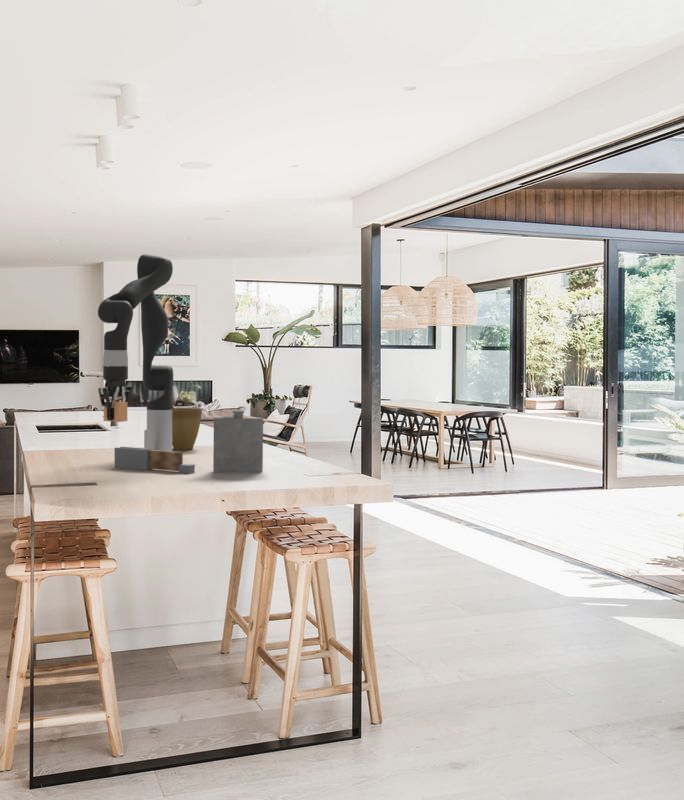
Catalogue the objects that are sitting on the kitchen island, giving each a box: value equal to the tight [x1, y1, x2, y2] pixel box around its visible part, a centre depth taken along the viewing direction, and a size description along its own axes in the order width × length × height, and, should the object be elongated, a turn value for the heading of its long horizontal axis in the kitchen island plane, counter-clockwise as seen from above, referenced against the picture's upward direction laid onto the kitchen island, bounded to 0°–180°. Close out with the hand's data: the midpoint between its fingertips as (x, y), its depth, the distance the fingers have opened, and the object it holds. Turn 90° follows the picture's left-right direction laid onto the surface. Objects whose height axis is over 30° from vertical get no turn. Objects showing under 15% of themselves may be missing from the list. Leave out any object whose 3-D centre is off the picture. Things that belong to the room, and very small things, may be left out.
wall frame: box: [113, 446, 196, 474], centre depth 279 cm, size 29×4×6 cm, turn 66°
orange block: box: [103, 401, 128, 423], centre depth 269 cm, size 6×4×6 cm, turn 66°
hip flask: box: [212, 409, 264, 473], centre depth 278 cm, size 16×4×20 cm, turn 94°
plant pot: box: [172, 407, 203, 451], centre depth 338 cm, size 15×15×16 cm
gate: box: [149, 450, 184, 472], centre depth 278 cm, size 14×1×6 cm, turn 66°
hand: (115, 419), depth 269 cm, fingers closed on orange block, 4 cm apart
